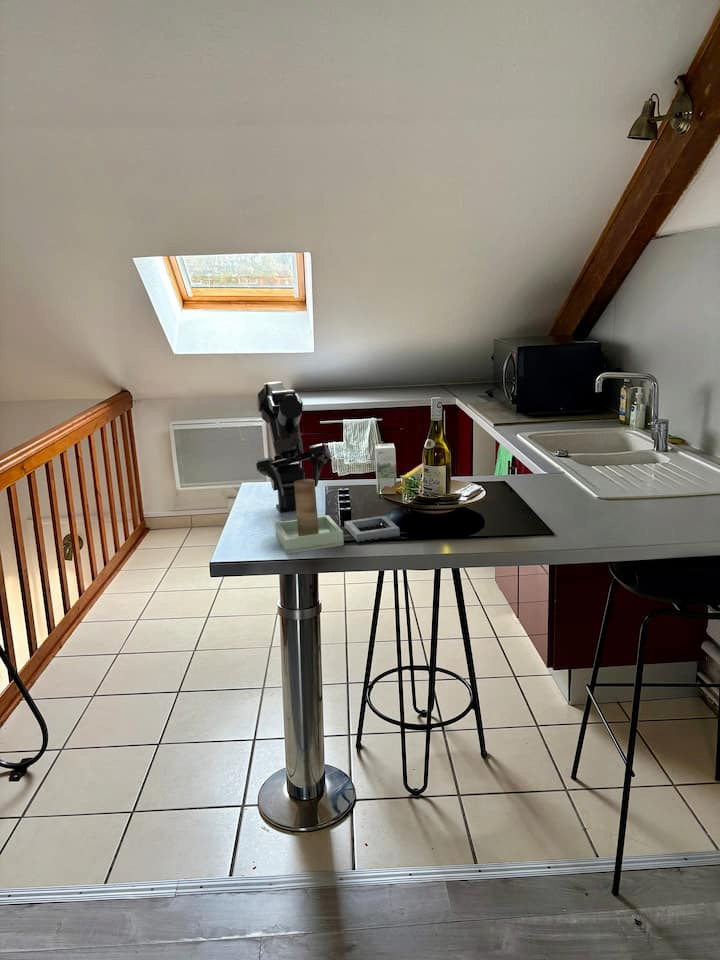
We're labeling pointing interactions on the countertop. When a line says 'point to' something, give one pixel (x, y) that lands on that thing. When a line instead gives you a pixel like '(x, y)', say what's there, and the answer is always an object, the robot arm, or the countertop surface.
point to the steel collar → (386, 532)
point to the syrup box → (385, 465)
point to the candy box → (412, 474)
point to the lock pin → (306, 507)
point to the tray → (326, 538)
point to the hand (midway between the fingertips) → (298, 490)
